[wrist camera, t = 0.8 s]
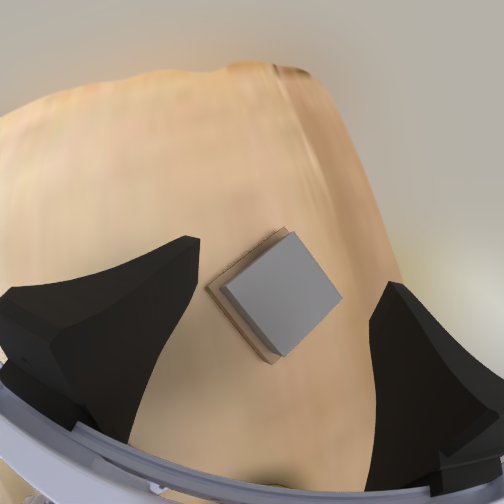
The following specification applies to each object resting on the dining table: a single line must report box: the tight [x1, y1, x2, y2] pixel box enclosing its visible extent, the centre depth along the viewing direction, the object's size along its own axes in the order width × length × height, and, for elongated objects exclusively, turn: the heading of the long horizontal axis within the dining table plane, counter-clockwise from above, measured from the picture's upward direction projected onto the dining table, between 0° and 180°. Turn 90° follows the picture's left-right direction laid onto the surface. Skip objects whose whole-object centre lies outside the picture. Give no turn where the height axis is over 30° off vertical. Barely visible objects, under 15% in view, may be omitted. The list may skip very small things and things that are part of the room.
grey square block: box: [219, 231, 343, 357], centre depth 22 cm, size 6×6×2 cm
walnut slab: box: [204, 226, 289, 365], centre depth 24 cm, size 8×8×2 cm
